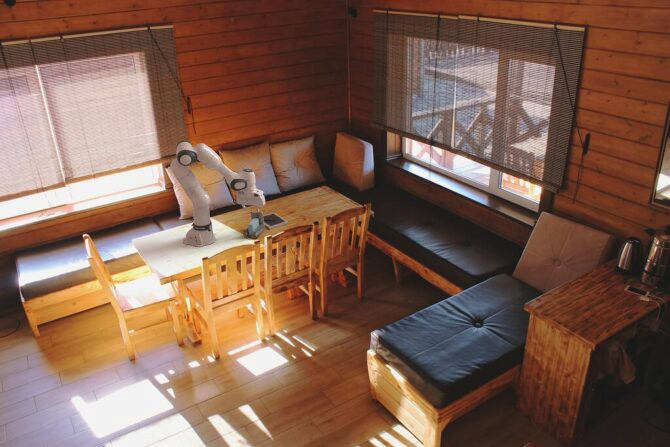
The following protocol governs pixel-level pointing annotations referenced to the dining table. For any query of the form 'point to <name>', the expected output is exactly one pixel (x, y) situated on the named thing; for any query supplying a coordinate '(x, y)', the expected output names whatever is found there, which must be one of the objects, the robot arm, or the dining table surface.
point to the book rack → (260, 228)
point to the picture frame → (274, 220)
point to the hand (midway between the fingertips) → (251, 210)
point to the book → (253, 226)
